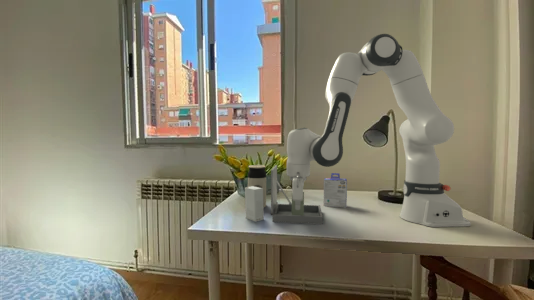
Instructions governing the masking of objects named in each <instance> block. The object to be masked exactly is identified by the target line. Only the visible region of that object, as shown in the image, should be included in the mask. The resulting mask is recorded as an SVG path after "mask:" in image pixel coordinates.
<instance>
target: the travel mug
mask: <svg viewBox="0 0 534 300" xmlns="http://www.w3.org/2000/svg"><path fill="white" fill-rule="evenodd" d="M248 168H249V169H248V172H247V187H251V186H254V187H259V188H263V208H266V207H267V172H266V165H263V164H253V165H252V164H251V165H248Z"/></svg>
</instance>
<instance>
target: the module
mask: <svg viewBox="0 0 534 300" xmlns="http://www.w3.org/2000/svg"><path fill="white" fill-rule="evenodd" d="M291 203H292V215H303V216H304V205H305V191H303V200H302V201H301V203H300V210H296V209H295V201H293V199H292V198H291Z"/></svg>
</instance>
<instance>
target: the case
mask: <svg viewBox="0 0 534 300" xmlns="http://www.w3.org/2000/svg"><path fill="white" fill-rule="evenodd" d="M278 188H279V189H280V191H281V192H282V194H283V195H284V197H285V198H286V200H287V202H288V204H287V203H279V202H278ZM270 216H272V223H285V224H286V223H288V224H289V223H290V224H309V225H324V224H323V221H324V217H323V212H322V208H321V205H319V204H318V205H317V204H304V216H303V215H292V201H291V200H290V199H289V197H288V195H287V194H286V192H285V190H284V189H283V188H282V185H280V183H279V181H278V165H277V164H276V165H274V167H272V169H271V170H270Z"/></svg>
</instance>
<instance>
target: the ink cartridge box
mask: <svg viewBox="0 0 534 300" xmlns="http://www.w3.org/2000/svg"><path fill="white" fill-rule="evenodd" d="M340 175H341V174H340V173H336V172H335V173H333V172H332V173H331V175H330V177H326V178H325V177H324V179H323V207H334V208H335V207H336V208H345V209H347V201H348V200H347V197H348V181H347V178H340V177H341V176H340Z"/></svg>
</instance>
